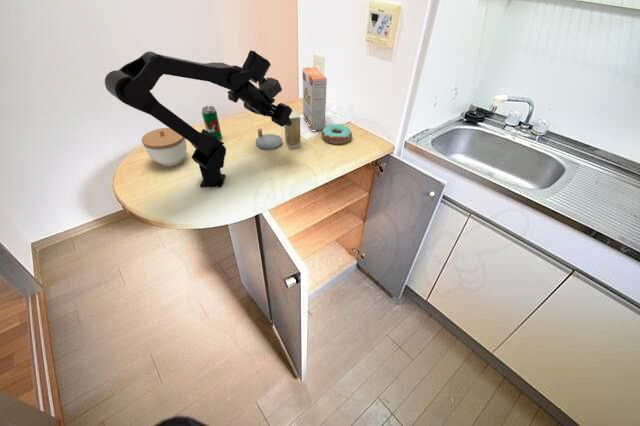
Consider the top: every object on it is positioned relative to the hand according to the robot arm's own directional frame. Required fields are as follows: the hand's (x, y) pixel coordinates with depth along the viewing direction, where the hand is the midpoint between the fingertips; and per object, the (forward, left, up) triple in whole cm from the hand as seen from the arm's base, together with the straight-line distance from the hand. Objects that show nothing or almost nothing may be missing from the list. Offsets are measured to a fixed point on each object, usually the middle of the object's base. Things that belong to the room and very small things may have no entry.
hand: (281, 120), depth 100 cm
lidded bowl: (-9, +38, -11) cm, 40 cm away
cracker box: (+21, -11, -11) cm, 27 cm away
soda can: (+7, +27, -11) cm, 30 cm away
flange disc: (+4, +6, -11) cm, 13 cm away
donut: (+9, -20, -12) cm, 25 cm away
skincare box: (+3, -3, -11) cm, 12 cm away
